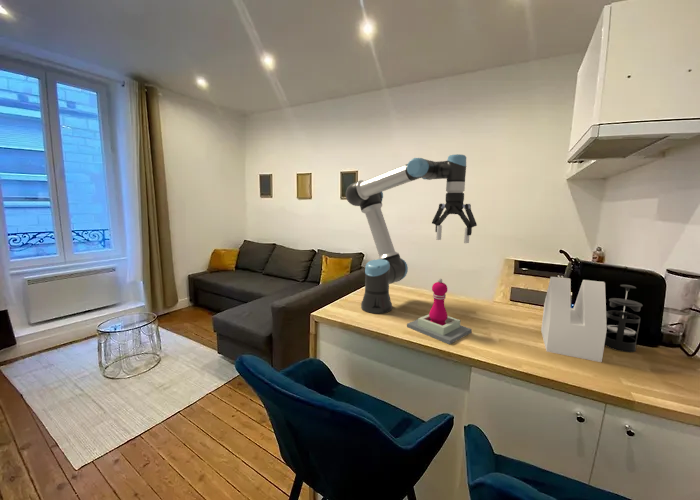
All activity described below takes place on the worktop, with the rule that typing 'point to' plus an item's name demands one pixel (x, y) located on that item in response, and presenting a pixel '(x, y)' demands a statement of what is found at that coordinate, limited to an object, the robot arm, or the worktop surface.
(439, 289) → the pepper mill
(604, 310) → the white notched cradle block
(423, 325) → the socket board
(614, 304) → the french press
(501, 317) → the worktop surface
